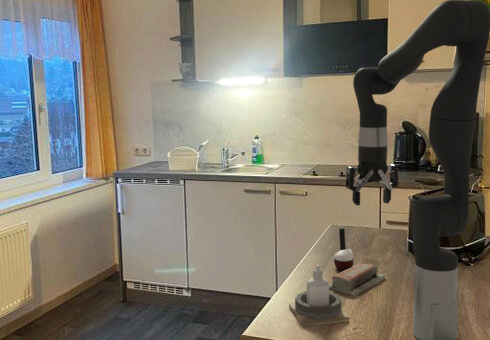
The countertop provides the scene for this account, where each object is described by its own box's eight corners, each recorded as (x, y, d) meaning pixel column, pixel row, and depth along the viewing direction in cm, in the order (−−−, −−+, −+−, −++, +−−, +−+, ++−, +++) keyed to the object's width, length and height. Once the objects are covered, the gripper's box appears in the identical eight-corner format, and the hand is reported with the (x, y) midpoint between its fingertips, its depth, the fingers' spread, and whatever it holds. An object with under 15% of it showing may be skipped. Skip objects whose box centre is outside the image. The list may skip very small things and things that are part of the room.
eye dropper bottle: (326, 314, 134) (326, 269, 133) (304, 311, 137) (304, 266, 135) (330, 308, 138) (330, 263, 137) (309, 305, 141) (309, 261, 139)
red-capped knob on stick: (350, 275, 167) (351, 239, 164) (330, 272, 169) (331, 236, 167) (356, 264, 175) (358, 229, 173) (337, 261, 178) (338, 227, 175)
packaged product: (355, 281, 148) (325, 273, 155) (355, 298, 149) (325, 289, 156) (386, 264, 162) (356, 258, 168) (385, 280, 162) (356, 273, 169)
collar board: (349, 321, 133) (349, 305, 133) (303, 326, 131) (303, 310, 130) (331, 302, 145) (331, 288, 144) (289, 307, 142) (289, 292, 142)
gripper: (354, 146, 136) (353, 208, 138) (404, 144, 139) (402, 205, 142) (342, 143, 143) (341, 202, 146) (390, 141, 146) (388, 199, 149)
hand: (371, 203), depth 144 cm, fingers open, 8 cm apart
